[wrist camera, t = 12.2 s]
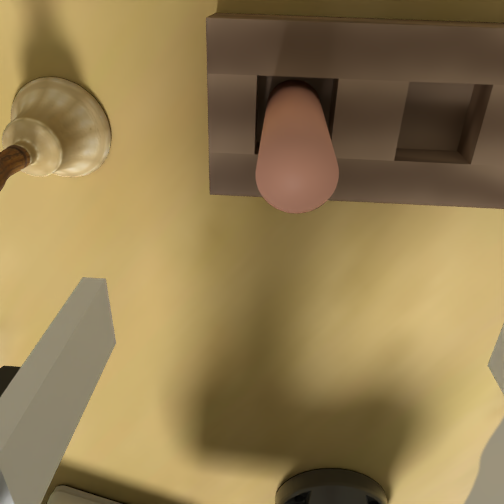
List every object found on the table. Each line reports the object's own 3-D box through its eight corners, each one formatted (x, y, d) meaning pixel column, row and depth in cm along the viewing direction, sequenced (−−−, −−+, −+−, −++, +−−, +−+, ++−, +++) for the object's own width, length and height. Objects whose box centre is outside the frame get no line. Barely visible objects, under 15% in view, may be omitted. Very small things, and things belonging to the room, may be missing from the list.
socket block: (478, 183, 38) (503, 208, 34) (217, 171, 39) (209, 194, 35) (526, 23, 32) (564, 30, 28) (216, 12, 33) (206, 17, 29)
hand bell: (-10, 110, 38) (-178, 184, 24) (65, 55, 35) (-75, 104, 21) (59, 191, 41) (-54, 297, 27) (131, 148, 38) (47, 240, 25)
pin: (317, 135, 35) (333, 215, 23) (265, 133, 35) (254, 211, 23) (323, 80, 33) (343, 136, 21) (267, 78, 33) (256, 132, 21)
